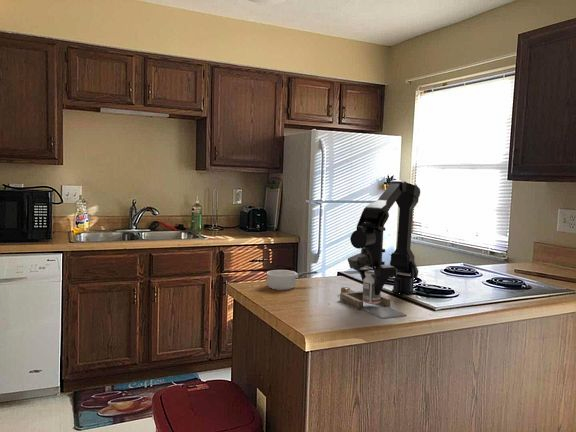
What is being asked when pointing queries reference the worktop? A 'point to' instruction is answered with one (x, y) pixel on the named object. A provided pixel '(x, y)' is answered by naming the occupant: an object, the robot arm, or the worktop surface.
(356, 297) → the ball knob bracket
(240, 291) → the worktop surface
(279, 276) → the saucepan
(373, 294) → the pill bottle
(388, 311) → the coaster
